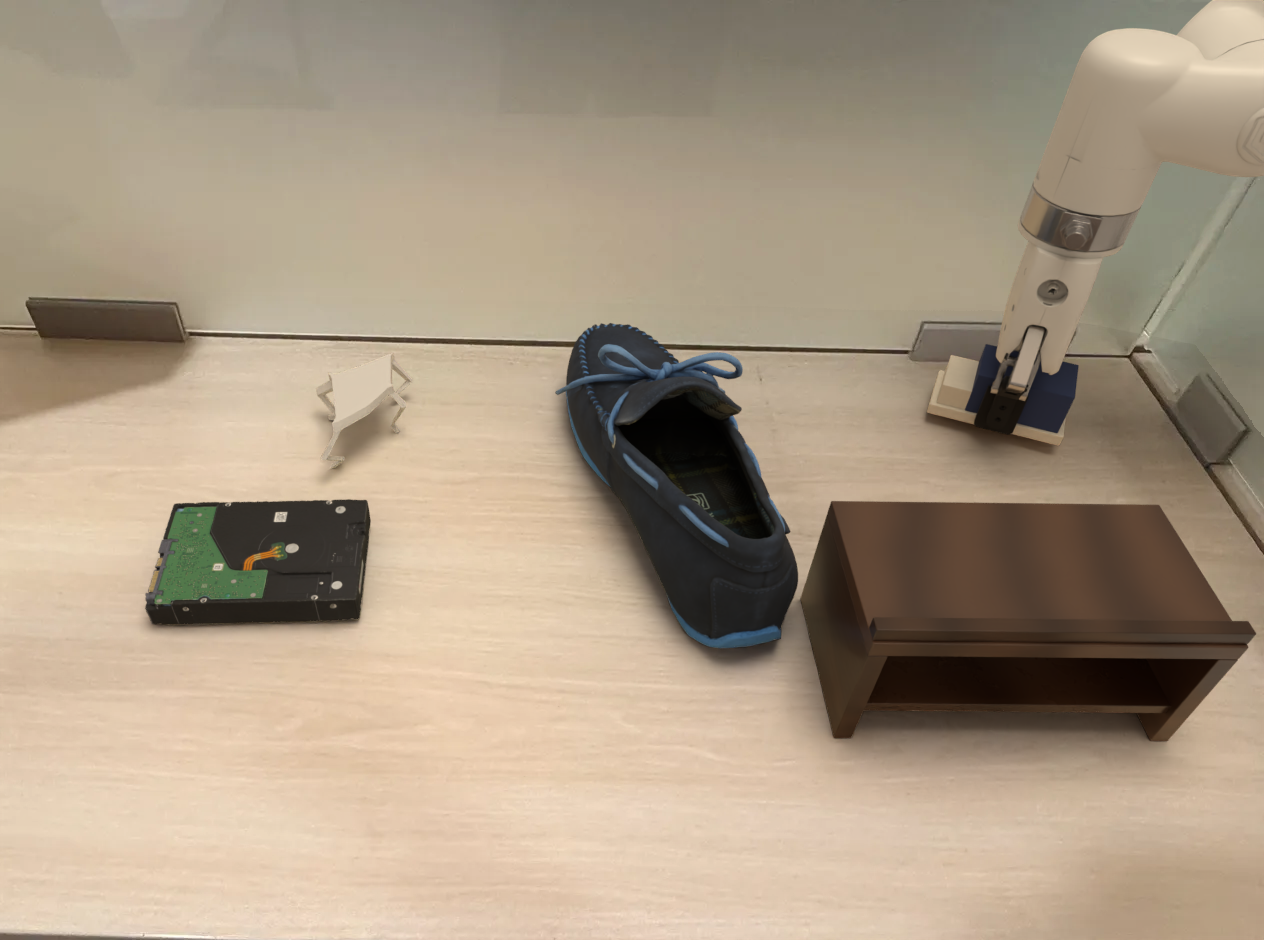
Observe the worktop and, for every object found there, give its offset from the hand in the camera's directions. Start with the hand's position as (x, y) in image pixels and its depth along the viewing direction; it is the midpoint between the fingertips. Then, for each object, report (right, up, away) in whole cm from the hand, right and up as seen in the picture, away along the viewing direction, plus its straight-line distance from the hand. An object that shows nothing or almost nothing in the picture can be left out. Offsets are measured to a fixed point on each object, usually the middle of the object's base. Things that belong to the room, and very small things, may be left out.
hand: (997, 406), depth 86 cm
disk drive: (-61, -14, -13) cm, 63 cm away
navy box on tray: (0, 0, 0) cm, 0 cm away
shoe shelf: (-10, -20, -18) cm, 29 cm away
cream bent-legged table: (-56, -3, -2) cm, 56 cm away
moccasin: (-30, -8, -6) cm, 32 cm away
